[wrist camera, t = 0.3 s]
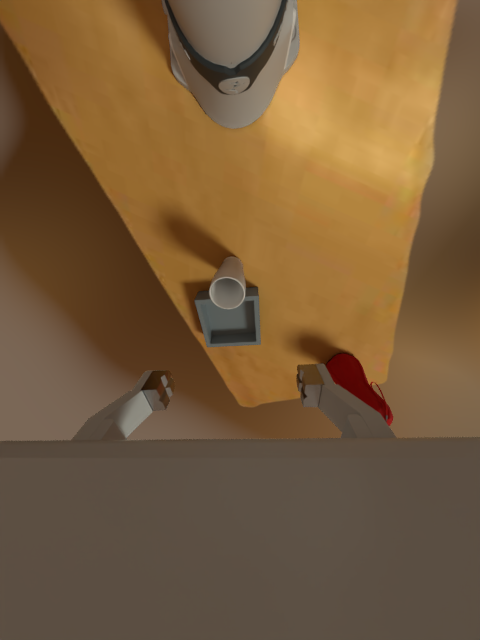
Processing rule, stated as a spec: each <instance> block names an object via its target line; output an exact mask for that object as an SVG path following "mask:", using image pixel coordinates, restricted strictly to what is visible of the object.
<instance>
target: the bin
mask: <svg viewBox="0 0 480 640" xmlns="http://www.w3.org/2000/svg"><path fill="white" fill-rule="evenodd" d="M194 301H195V304H196V308H197V312H198V315H199V319H200V323H201V326H202V330H203V334H204V337H205V341H206V345H207V347H221V346H241V345H261V340H260V316H259V295H258V287H251V288H246V292H245V298H244V301H243V302H242V303H241V304H240V305H239V306H238V307H236V308H233V309H223V308H220V307H218V306H217V305H215V304H214V303H213V302H212V300H211V298H210V295H209V291H199V292H198V294H197V296H196V298H195V300H194Z"/></svg>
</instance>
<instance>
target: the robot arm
mask: <svg viewBox="0 0 480 640" xmlns="http://www.w3.org/2000/svg"><path fill="white" fill-rule="evenodd" d="M162 5H163V10H164V13H165V14H166V15H167V16H168V30H169V34H168V38H169V43H170V57H171V68H172V71H173V74H174V76H175V78H176V80H177V81H178V82H179V83H180V84H181V85H182V86H184V87H185V88H186V89H188V90H189V91H190V92H192V94H193V95H194V96H195V98H196V99H197V101H198V103H199V104H200V106H201V107H202V109H203V110H204V111H205V113H206V114H207V115H208V116H209V117H210V118H211V119H212V120H213V121H215V122H216V123H218V124H219V125H221V126H224V127H227V128H242V127H245V126H247V125H249V124H251V123H253V122H254V121H255V120H257V119H258V118H259V117H260V116H261V115H262V114H263V112H264V111H265V110H266V108H267V107H268V105H269V104H270V102H271V100H272V98H273V96H274V94H275V91H276V89H277V86H278V84H279V82H280V80H281V78H282V76H283V75H284V74H285V73H286V72H287V71H288V69H289V68H290V67H291V66H292V64H293V63H294V61H295V60H296V58H297V55H298V51H299V27H298V12H297V0H162ZM297 371H298V374H297V378H296V379H297V387H298V391H300V392H301V395H300V397H301V401H302V404H303V407H318V408H319V409H320V410H321V411H322V412H323V413H324V414H325V415H326V416H327V417H328V418H329V419H330V420H331V421H332V422H333V423H334V424H335V425H336V426H337V427H338V428H339V429H340V431H342V436H341V438H307V439H306V438H304V439H303V438H302V439H300V438H299V439H193V440H192V439H189V440H188V439H183V440H180V439H179V440H127V437H128V436H129V434H131V433H132V431H134V430H135V429H136V428H137V427H138V425H140V424H141V423H142V421H144V420H145V419H146V418H147V417H148V416H149V415H150V414H151V413H152V412H153V411H156V410H166V408H167V406H168V404H169V402H170V399H169V397H170V396H171V395H172V394H173V392H174V389H175V382H174V380H173V379H172V378H171V372H170V371H169V370H157V371H146V372H144V374H143V375H142V377H141V378H140V380H139V381H138V382H137V384H136V385H135V387H134V388H133V390H132V391H129V392H128V393H126V394H124V395H123V396H121V397H120V398H119V399H117V400H115V401H114V402H112V403H111V404H109V405H108V406H107V407H105V408H104V409H102V410H101V411H99V412H98V413H96V414H95V415H93V416H92V417H90V418H89V419H88V420H87V421H86V422H85V424H84V425H83V426H82V427H81V429H80V430H79V431H78V432H77V434H76V435H75V436H74V437H73V439H72V440H62V441H61V440H59V441H58V440H56V441H54V440H53V441H0V640H480V437H435V438H434V437H432V438H431V437H425V438H397V437H396V436H395V435H394V433H393V432H392V430H391V429H390V427H389V426H388V424H387V423H386V421H385V420H384V418H383V417H382V415H381V414H380V413H379V412H377V411H376V410H374V409H373V408H372V407H370V406H369V405H367V404H366V403H364V402H363V401H361V400H360V399H358V398H357V397H355V396H354V395H353V394H351V393H350V392H348V391H347V390H345V389H344V388H342V387H341V386H339V385H338V384H335V383H334V381H333V379H332V378H331V376H330V374H329V372H328V370H327V368H326V366H325V365H324V364H323V363H322V364H305V365H298V366H297Z"/></svg>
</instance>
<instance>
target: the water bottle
mask: <svg viewBox="0 0 480 640" xmlns="http://www.w3.org/2000/svg"><path fill="white" fill-rule="evenodd" d="M326 368H327V370H328V372H329V374H330V376H331V378H332V379H333V381H334V382H335V384H338V385H339V386H341V387H342V388H344V389H345V390H347V391H348V392H350V393H351V394H353V395H354V396H355V397H357V398H358V399H360V400H361V401H363V402H364V403H366V404H367V405H369V406H370V407H372V408H373V409H374V410H376V411H377V412H379V413H380V414H381V415H382V417H383V418H384V420H385V421H386V423H387V424H388V426H390V424H391V423H392V421H393V415H392V412H391V410H390V407H389V406H388V405H387V404H386V402H385V399H384V396H383V394H382V392H381V390H380V388H379V387H378V388H379V390H380V392H381V394H382V397H383V399H384V400H383V399H382V398H381V397H380V396H379V395H378V394H377V393H376V392H375V391H374V390H373V388H372V383H373V382H371V384H370V385H369V384H368V381H367V378H366V376H365V373H364V370H363V367H362V365H361V364H360V362H359V360H358V359H356V358H355V357H354V356H350V355H348V354H337V355H336V356H334V357H333V358H332V359H331V360H330V361H329V362H328V363H327V365H326ZM374 383H375V382H374ZM375 384H376V383H375ZM376 385H377V384H376ZM377 386H378V385H377Z"/></svg>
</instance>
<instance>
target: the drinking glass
mask: <svg viewBox="0 0 480 640" xmlns="http://www.w3.org/2000/svg"><path fill="white" fill-rule="evenodd" d="M245 292H246V282H245V277H244V271H243V264H242V262H241V260H240V259H238V258H237V257H233V256H232V257H227V258H226V259H225V260H224V261H223V262H222V265H221V266H220V268H219V269H218V271H217V272H216V274H215V275H214V277H213V279H212V282H211V285H210V288H209V295H210V298H211V300H212V302H213V303H214V304H215V305H217V306H218V307H220V308H223V309H233V308H236V307H238V306H239V305H240V304H241V303H242V302H243V301H244V298H245Z"/></svg>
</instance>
